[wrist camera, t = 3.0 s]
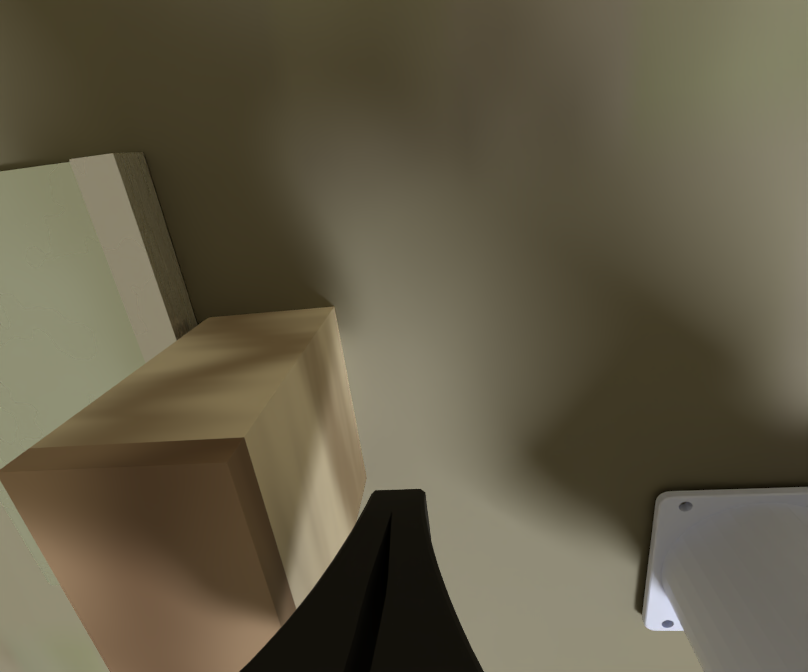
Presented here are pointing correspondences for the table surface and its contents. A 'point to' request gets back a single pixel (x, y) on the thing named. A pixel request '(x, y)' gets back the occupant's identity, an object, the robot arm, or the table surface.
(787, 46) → the table surface
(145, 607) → the wooden block
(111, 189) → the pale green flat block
